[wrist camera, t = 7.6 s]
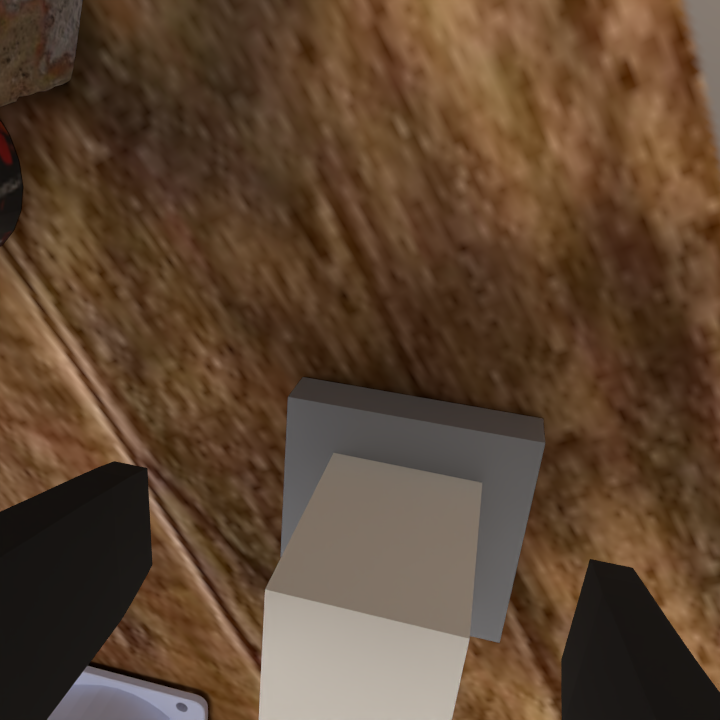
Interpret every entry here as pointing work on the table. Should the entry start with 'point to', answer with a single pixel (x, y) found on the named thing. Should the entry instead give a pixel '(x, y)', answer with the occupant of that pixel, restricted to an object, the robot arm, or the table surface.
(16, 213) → the deodorant
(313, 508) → the cream block
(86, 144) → the table surface
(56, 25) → the geological specimen
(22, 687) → the robot arm
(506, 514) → the slate base
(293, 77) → the table surface
